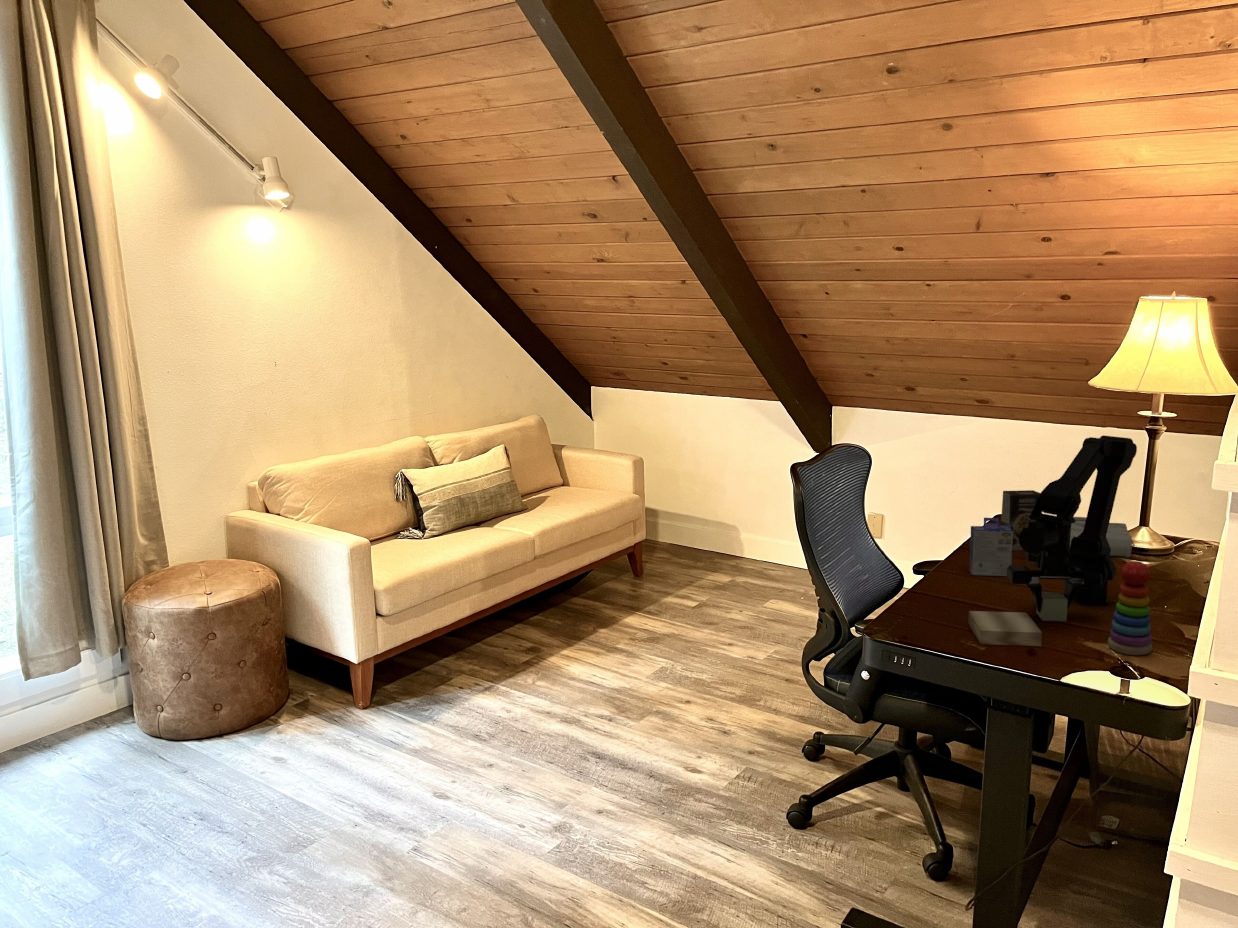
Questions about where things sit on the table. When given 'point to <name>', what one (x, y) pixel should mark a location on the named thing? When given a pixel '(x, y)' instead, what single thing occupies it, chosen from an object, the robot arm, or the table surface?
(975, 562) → the ink cartridge box
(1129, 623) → the stacking toy
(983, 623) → the birch base block
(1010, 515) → the coffee box
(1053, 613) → the sage cube
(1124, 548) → the book
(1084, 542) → the robot arm
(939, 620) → the table surface
